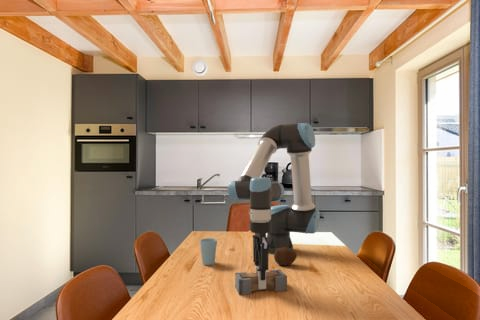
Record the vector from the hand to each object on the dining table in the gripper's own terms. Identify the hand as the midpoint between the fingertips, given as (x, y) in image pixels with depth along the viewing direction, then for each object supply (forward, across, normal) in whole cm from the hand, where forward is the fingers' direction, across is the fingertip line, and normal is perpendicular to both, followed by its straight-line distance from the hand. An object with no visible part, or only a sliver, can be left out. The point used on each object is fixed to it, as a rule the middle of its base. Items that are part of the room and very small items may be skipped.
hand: (260, 286), depth 112 cm
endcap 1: (+1, 0, -6) cm, 6 cm away
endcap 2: (+1, 0, +7) cm, 7 cm away
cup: (+1, -33, -15) cm, 36 cm away
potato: (+1, -23, +18) cm, 29 cm away
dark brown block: (+1, 0, 0) cm, 1 cm away
